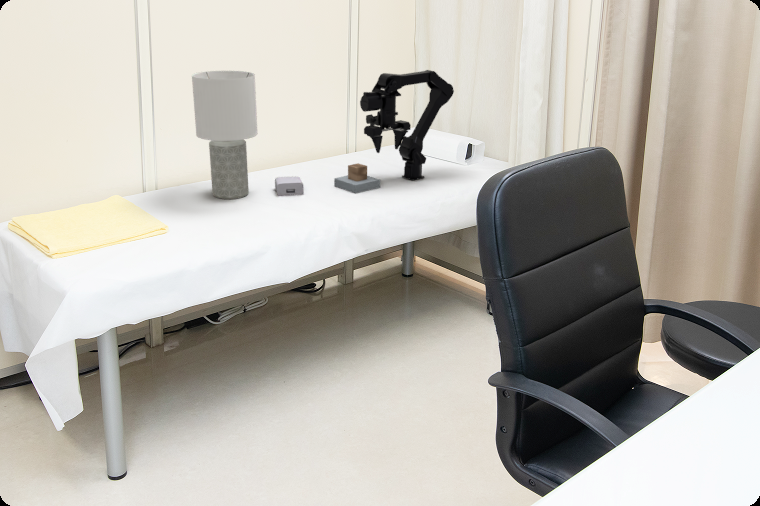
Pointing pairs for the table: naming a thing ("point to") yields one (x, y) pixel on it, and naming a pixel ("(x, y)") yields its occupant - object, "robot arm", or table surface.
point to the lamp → (226, 126)
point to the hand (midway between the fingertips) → (387, 151)
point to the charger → (289, 186)
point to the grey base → (356, 184)
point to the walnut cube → (357, 172)
